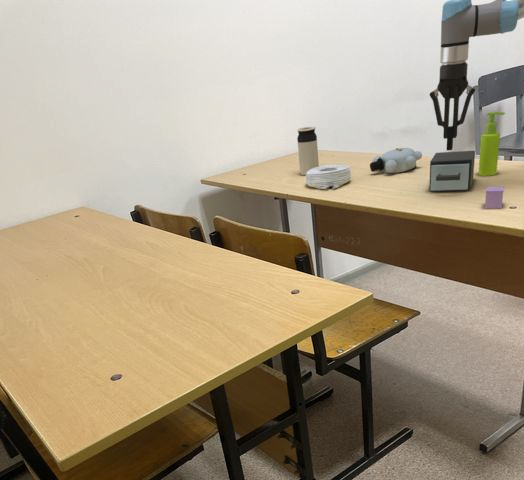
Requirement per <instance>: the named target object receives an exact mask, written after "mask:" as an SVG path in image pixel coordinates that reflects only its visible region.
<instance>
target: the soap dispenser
mask: <svg viewBox="0 0 524 480" xmlns="http://www.w3.org/2000/svg"><path fill="white" fill-rule="evenodd" d="M505 114H506V112H504V111H492V112H487V114H486V116H487V117H488V122H487V123H485V131H484V133H482V134H481V135H480V147H479V159H478V160H479V163H478V175H479V176H482V177H488V176H489V177H491V176H495V175H497V172H498V162H499V151H500V139H501V138H500V137H501V133H499V132H497V126H498V123H497V122H496V121H495V119H496V115H499V116H500V115H501V116H505Z"/></svg>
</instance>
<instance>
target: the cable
mask: <svg viewBox="0 0 524 480" xmlns="http://www.w3.org/2000/svg"><path fill="white" fill-rule="evenodd" d="M351 178H352V172H351V168H350V166H348V165H346V164H326V165H324V164H323V165H320V166H319V167H315V168H313V169H310V170H309V171H307V174H306V175H305V180H304V182H305V184H306V185H307V186H308V187H312V188H316V189H320V190H325V191H327V190H328V189H329V188H331V187H332V189H333V190H335V189H338V188H339V187H341V186H344V184H346V183H348V182H350V180H351Z"/></svg>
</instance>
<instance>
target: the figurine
mask: <svg viewBox="0 0 524 480" xmlns="http://www.w3.org/2000/svg"><path fill="white" fill-rule="evenodd" d="M422 157H423V153H422V152H421V151H420V150H417V151H415V150H414V149H412V148H409V147H397V148H394V149H391V150H388V151H386V152H384V153H383V154H381V155H377V156H375V157H373V158H372V160H371V162H370V163H369V169H370V171H371V172H376V171H382V173H384V174H399V173H402V172H407V171H410V170H413V169H416V168H417V161H419V160H421V159H422Z"/></svg>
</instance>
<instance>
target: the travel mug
mask: <svg viewBox="0 0 524 480" xmlns="http://www.w3.org/2000/svg"><path fill="white" fill-rule="evenodd" d="M296 131H297V133H298V135H297V138H296V139H297V150H298V160H299V161H298V162H299V173H300V175H301V176H306V174H307V171H309V170H310V169H313V168H315V167H319V165H320V164H319V149H318V148H319V147H318V136H317V133H316V127H315V126H305V127H299V128H297V129H296Z"/></svg>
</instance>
